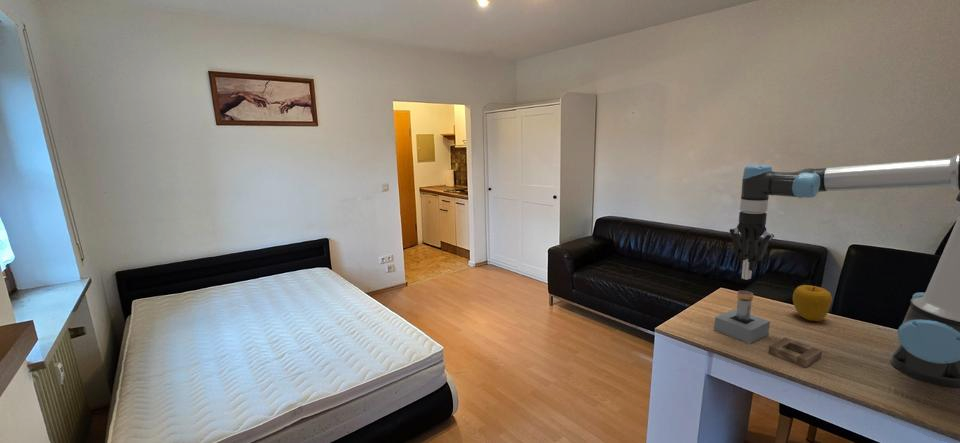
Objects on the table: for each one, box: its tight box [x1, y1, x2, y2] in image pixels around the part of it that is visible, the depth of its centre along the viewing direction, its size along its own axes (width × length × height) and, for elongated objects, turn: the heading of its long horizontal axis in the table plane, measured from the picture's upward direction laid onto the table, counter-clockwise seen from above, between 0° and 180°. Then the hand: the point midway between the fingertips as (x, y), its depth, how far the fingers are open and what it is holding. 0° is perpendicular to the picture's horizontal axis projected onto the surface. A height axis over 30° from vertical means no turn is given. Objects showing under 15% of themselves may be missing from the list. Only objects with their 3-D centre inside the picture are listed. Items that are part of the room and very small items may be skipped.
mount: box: [767, 337, 823, 369], centre depth 122 cm, size 10×10×2 cm
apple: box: [792, 284, 833, 322], centre depth 144 cm, size 11×11×13 cm
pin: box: [736, 290, 754, 324], centre depth 136 cm, size 5×5×15 cm
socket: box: [713, 308, 771, 345], centre depth 137 cm, size 12×12×5 cm
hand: (746, 278), depth 134 cm, fingers closed
